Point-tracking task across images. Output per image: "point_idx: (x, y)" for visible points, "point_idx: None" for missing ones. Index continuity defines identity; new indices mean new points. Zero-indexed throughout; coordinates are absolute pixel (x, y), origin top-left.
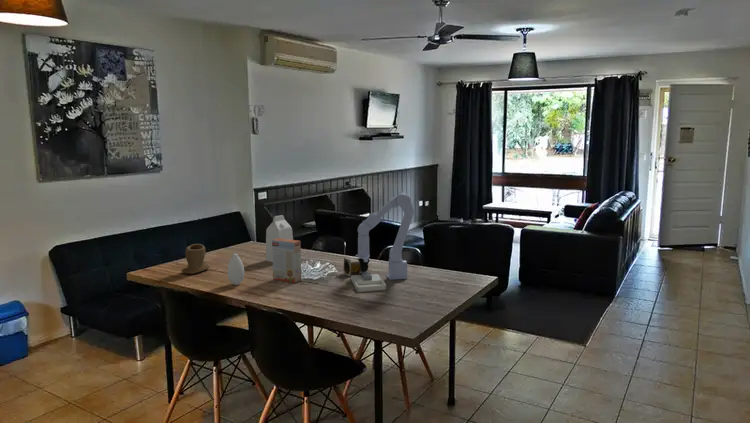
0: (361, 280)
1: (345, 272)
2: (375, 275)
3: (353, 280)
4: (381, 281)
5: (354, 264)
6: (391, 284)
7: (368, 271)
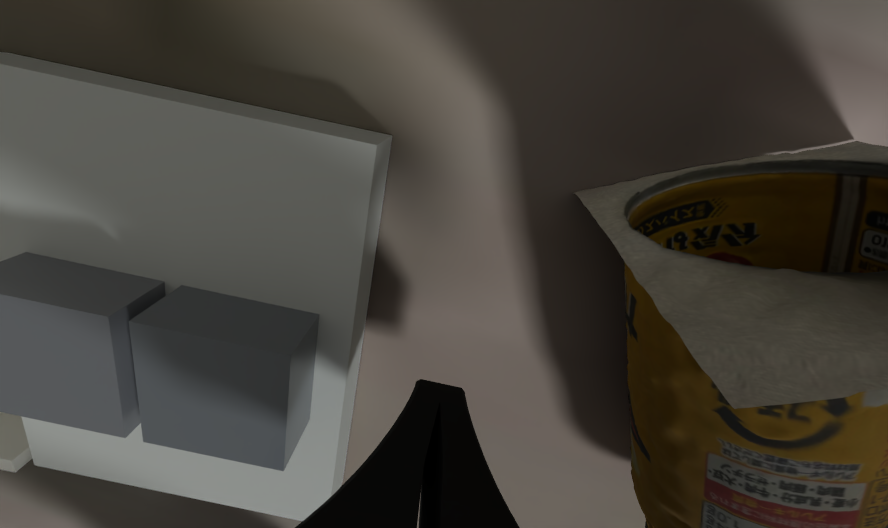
0: (20, 212)
1: (790, 162)
2: (271, 481)
3: (44, 72)
4: (15, 441)
5: (731, 417)
6: (68, 490)
7: (282, 466)
